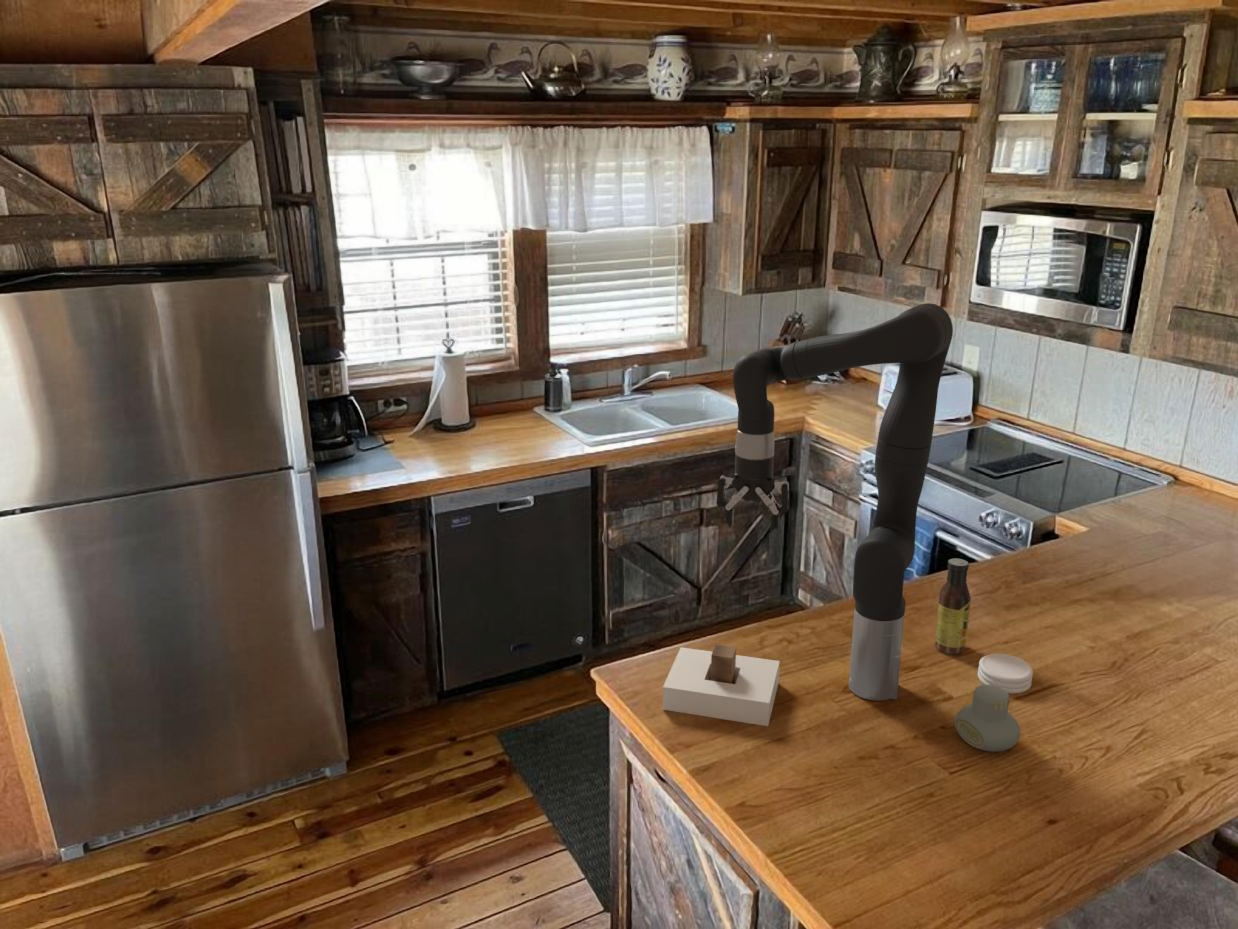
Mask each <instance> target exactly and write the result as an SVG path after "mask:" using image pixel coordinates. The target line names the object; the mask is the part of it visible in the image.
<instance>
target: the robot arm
mask: <svg viewBox="0 0 1238 929" xmlns="http://www.w3.org/2000/svg"><path fill="white" fill-rule="evenodd" d="M953 334H954V326H953V322H952V318H951V317H950V315H949V313H948V312H947V311H946V310H945V309H944V308H943V307H942V306H940V305H938V304H935V303H930V302H929V303H921V304H918V305H914V306H913V307H910V308H909V309H906V310H904V311H903V312H901V313H900V314H899V315H898V316H895V317H893V318H890V319H889V320H886V321H884V322H882V323H879V324H877V325H874V326H872V327H868V328H865V329H862V330H861V329H860V330H857V331H851V332H845V333H836V334H835V333H834V334H826V335H820V336H816V337H811V338H807V339H803V340H799V341H794V342H792V343H788V344H784V345H775V346H770V347H764V348H760V349H757V350H754V351H753V352H749V353H748V354H745V355H743V356H741V357H739V359H738V360H737V361H736V363H735V366H734V369H733V372H732V383H733V384H732V385H733V392H734V396H735V401H736V405H737V409H738V410H737V430H736V437H735V446H734V452H735V457H734V458H735V459H734V477H727V476H726V474H722V475H720V477H719V479H718V483H717V492H716V493H717V494H716V506H717V507H718V508H719V507H722V508H724V509H725V524H726V525H728V528H733V527H734V522H735V520H734V519H735V505H736V504H737V503H739V501H740V500H741V499H743V500H744V502H752V501H753V502H756V503H760V502H763V503H764V504H765V506H766V507H767V508H769V510H770V512H771V517H770V521H771V522H770V532H775V531H776V530H778V528H779V526H780V514H782V513H785V514H786V513H788V511H789V508H790V482H789V480H786V479H785V480H783V481H775V479H774V461H775V434H774V433H775V432H774V430H775V407H774V406H775V405H774V404H773V402H772V401H770V400H769V399H768V391H767V388H768V386H770V385H773V384H776V383H779V382H782V381H787V380H792V381H801V380H806V379H810V378H817V377H820V376H826V375H830V374H832V373H833V374H834V373H837V372H841V371H845V370H849V369H851V370H852V369H854V368H860V367H865V366H872V365H873V366H874V365H882V364H883V365H885V364H886V365H887V364H899V368H898V373H897V374H898V375H897V379H896V383H895V386H894V389H893V391H892V393H891V396H890V399H889V401H888V403H887V406H886V408H885V411H884V414H883V417H882V420H881V423H880V427H879V430H878V436H877V442H876V449H875V454H874V472H875V480H876V481H875V482H876V485H877V486H876V487H877V502H876V503H877V504H876V510H875V514H874V517H873V518H874V519H873V522H872V525H871V529H870V532H869V533H868V535H867V536H866V537H865V538H864V539H863V541H862V542H861V543H860V544H859V545H858V547H857V549H856V552H855V556H854V563H853V582H852V596H853V599H854V612H853V613H854V614H853V626H852V636H851V637H852V639H851V649H850V662H849V672H848V688H849V690H850V691H851V692H852V693H853V694H854V695H856V696H857V697H859V698H862V699H865V700H869V701H878V702H879V701H887V700H897V698H898V690H899V680H900V678H899V677H900V670H901V669H900V668H901V662H902V661H901V659H902V645H903V644H902V642H903V635H904V634H903V632H904V625H905V624H904V622H905V613H906V605H907V604H906V599H905V597H904V596H903V593H904V592H903V591H904V583H905V582H904V580H905V572H906V570H907V569H908V568H909V566H910V565H911V563H912V562H913V559H914V555H915V550H916V549H915V547H916V545H915V544H916V530H917V529H916V528H917V527H916V526H917V512H918V505H919V501H920V498H921V495H922V494H921V493H922V490H923V487H924V482H925V478H926V474H927V469H928V465H929V459H930V454H931V448H932V442H933V435H934V434H933V433H934V426H935V420H936V412H937V404H938V403H937V402H938V395H939V393H938V392H939V386H940V382H941V378H942V374H943V369H944V366H945V362H946V359H947V356H948V352H949V350H950V349H949V348H950V346H951V344H952V339H953ZM730 485H732V487H733V488H734V489H735V491H736V492H735V493H734V494H733V495H732V496H731V498H729V500H728V499H726V489H728V488H729V487H730ZM774 489H776V490H777V492H778V493H779V494H781V504H779V503H778V502H777V501H776V499H775V496H774V495H773V493H772V492H773V491H774Z"/></svg>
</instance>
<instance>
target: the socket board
mask: <svg viewBox="0 0 1238 929" xmlns="http://www.w3.org/2000/svg"><path fill="white" fill-rule="evenodd" d="M712 653H713V651H709V650H702V649H696V648H689V647H682V646H681V647H680V648H679V651H678V652H677V654H676V657H675V659H674V661H673V664H672V665H671V668H670V669H669V672H668V674H667V676H666V679H665V682H664V684H663V686H662V710H663V711H668V712H669V711H670V712H676V713H681V714H689V715H695V716H701V717H706V718H712V719H720V720H726V721H732V722H738V723H746V724H752V725H756V726H757V725H759V726H764V727H769V725H770V724H769V723H770V719H771V717H772V712H773V707H774V704H775V700H776V695H777V691H778V687H779V682H780V681H779V680H780V663H781V661H780V660H777V659H776V660H775V659H767V658H760V657H752V656H745V655H739V654H736V667H735V684H730V683H723V682H717V681H711V655H712Z"/></svg>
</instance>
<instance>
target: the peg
mask: <svg viewBox="0 0 1238 929" xmlns="http://www.w3.org/2000/svg"><path fill="white" fill-rule="evenodd" d="M712 652H713V653H712V655H711V681H717V682H723V683H730V684H735V667H736V655H737V647H736V646H735V647H734V646H729V645H721V644H715V645H714V648H713V650H712Z"/></svg>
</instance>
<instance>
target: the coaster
mask: <svg viewBox="0 0 1238 929" xmlns="http://www.w3.org/2000/svg"><path fill="white" fill-rule="evenodd" d="M977 669H978V670H977V678H978V680H979V681H980V682H981V684H982V685H994V686H997V687H1000V688H1002V689H1003V690H1005V691H1006V692H1007V693H1008V694H1015V695H1016V694H1021V693H1025V692H1027V691H1028V690H1029V689H1030V688H1031V686H1032V681H1033V676H1034V671H1033V668H1032V667H1031V665H1030V664H1029V663H1028V662H1026V661H1025V660H1023V659H1022V658H1019V657H1016V656H1014V655H1011V654H1005V653H990V654H986V655H984V656H983V657H981V658H980V660H979V662H978V668H977Z"/></svg>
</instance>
